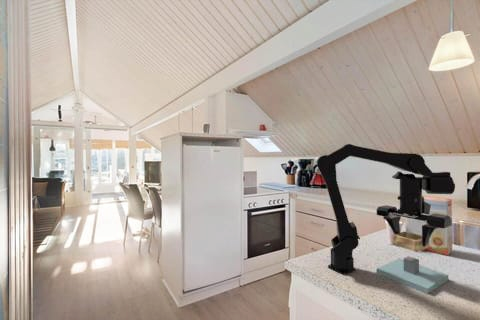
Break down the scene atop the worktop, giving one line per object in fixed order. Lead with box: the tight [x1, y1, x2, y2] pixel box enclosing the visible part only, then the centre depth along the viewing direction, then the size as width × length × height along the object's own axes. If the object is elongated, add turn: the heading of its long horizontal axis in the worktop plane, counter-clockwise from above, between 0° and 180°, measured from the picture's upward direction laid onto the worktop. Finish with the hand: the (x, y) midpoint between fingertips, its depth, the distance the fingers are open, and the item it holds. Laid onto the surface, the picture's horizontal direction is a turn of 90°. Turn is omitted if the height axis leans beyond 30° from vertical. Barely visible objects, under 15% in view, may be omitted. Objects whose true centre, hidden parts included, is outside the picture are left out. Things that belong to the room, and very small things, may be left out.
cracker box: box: [405, 195, 453, 256], centre depth 96 cm, size 14×6×21 cm, turn 34°
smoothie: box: [384, 220, 404, 247], centre depth 102 cm, size 6×6×14 cm
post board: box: [376, 255, 449, 295], centre depth 75 cm, size 14×14×6 cm
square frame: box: [392, 230, 429, 253], centre depth 75 cm, size 7×7×3 cm
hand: (410, 242), depth 75 cm, fingers closed on square frame, 7 cm apart
